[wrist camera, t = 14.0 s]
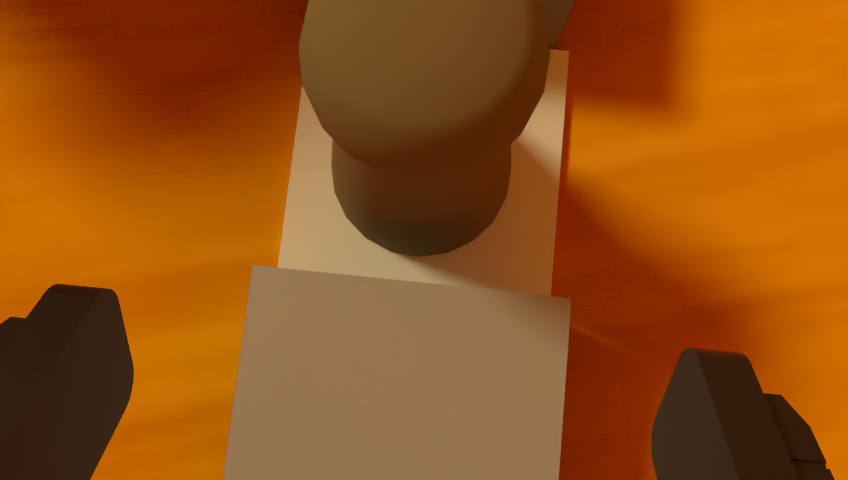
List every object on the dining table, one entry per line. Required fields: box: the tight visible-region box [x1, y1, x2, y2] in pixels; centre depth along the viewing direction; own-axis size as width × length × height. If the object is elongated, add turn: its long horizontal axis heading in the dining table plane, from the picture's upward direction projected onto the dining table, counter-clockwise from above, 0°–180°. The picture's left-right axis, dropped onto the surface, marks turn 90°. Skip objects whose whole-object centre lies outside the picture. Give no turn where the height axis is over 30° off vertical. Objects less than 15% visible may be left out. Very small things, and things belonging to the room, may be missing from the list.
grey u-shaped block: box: [223, 0, 576, 480], centre depth 22 cm, size 25×9×5 cm, turn 174°
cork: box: [298, 0, 550, 257], centre depth 19 cm, size 6×6×11 cm
